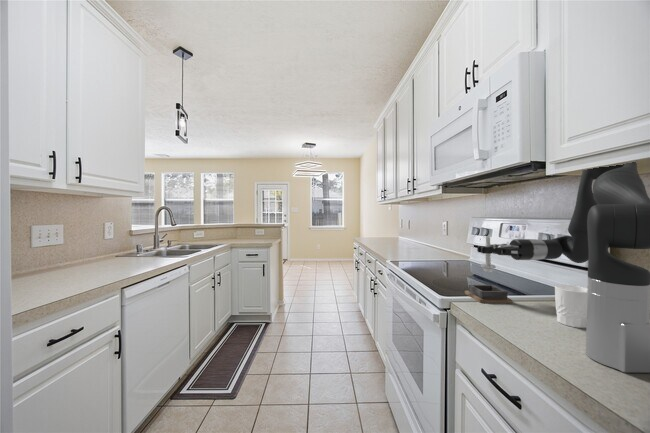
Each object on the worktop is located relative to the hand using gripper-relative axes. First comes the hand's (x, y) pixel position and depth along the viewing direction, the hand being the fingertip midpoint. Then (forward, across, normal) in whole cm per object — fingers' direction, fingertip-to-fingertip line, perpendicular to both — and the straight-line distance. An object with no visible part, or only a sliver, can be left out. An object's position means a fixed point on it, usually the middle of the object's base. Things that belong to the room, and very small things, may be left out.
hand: (479, 249), depth 103 cm
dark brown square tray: (-3, 0, +18) cm, 18 cm away
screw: (-3, 0, +8) cm, 9 cm away
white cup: (-14, +23, +18) cm, 32 cm away
